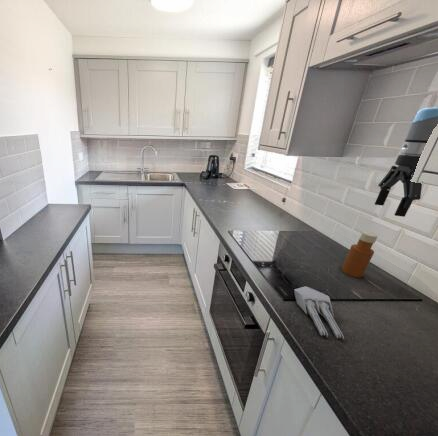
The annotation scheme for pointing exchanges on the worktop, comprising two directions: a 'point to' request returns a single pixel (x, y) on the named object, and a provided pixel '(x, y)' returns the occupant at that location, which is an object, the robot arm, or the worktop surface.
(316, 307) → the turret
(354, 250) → the bottle
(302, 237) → the worktop surface
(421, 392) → the worktop surface
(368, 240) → the bung
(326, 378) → the worktop surface
